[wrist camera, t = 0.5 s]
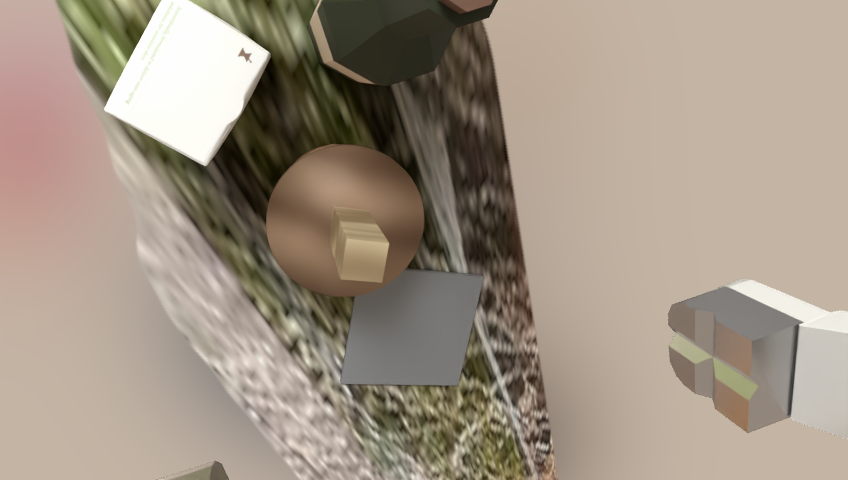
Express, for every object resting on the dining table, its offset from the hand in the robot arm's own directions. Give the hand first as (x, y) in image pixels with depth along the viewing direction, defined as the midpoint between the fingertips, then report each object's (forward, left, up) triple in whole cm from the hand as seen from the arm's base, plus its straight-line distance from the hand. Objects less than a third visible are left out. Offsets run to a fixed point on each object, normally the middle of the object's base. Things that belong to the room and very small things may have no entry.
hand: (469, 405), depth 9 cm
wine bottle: (-9, +2, -42) cm, 43 cm away
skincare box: (-3, -9, -42) cm, 43 cm away
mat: (+20, +13, -42) cm, 48 cm away
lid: (+7, +3, -36) cm, 37 cm away
